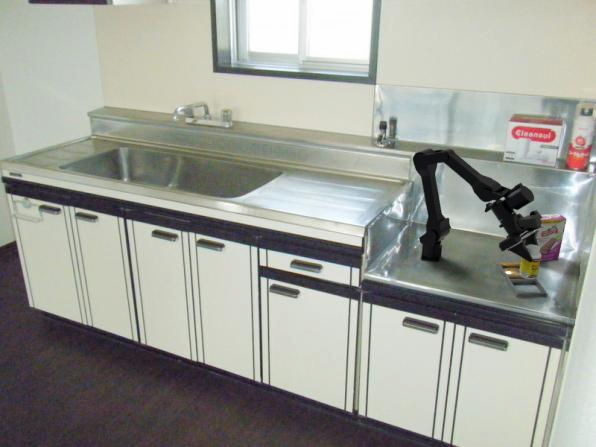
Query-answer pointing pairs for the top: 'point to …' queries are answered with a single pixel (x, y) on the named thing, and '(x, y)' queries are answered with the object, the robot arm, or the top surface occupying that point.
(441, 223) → the robot arm
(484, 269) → the top surface
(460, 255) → the top surface
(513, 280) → the rack
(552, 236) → the candy bar box
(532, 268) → the supplement bottle
